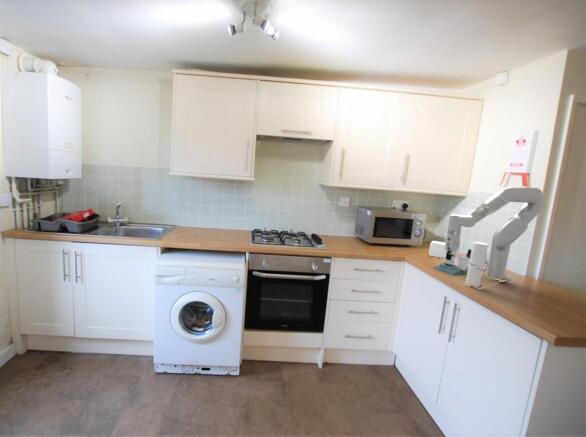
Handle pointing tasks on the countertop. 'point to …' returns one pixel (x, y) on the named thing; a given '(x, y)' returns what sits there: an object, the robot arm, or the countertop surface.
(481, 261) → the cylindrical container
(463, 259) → the fuse
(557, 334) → the countertop surface
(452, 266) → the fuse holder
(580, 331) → the countertop surface
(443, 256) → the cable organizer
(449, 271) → the parts tray
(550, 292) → the countertop surface
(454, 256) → the fuse
